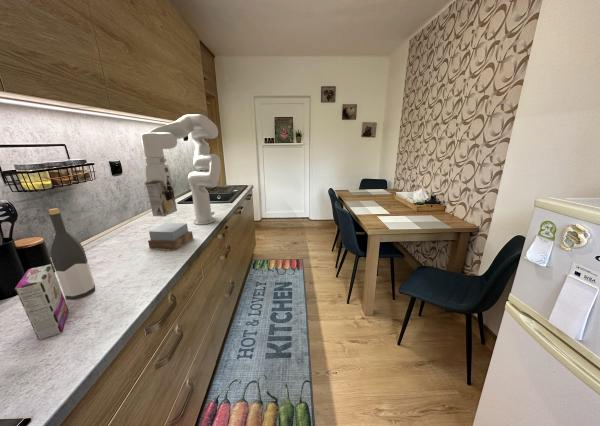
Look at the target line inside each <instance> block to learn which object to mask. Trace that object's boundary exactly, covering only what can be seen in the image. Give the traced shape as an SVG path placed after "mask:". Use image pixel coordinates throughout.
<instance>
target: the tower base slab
mask: <svg viewBox="0 0 600 426" xmlns="http://www.w3.org/2000/svg"><path fill="white" fill-rule="evenodd" d="M193 239H194V235H193V231H192V230H191V231H189V230H188V232H187V233H185V234H184V235H182V236H181V237H179V238H178V239H176V240H175V241H162V240H151V239H149V240H147V242H148V247H149V249H154V250H155V249H156V250H169V251H170V250H171V251H176V250H178V249H180V248H181V247H183V246H184V245H186V244H187V243H189V242H190V241H192V240H193Z"/></svg>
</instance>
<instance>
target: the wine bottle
mask: <svg viewBox="0 0 600 426" xmlns="http://www.w3.org/2000/svg"><path fill="white" fill-rule="evenodd" d="M48 212H49V215H48V216H49V217H50V220H51V223H52V226H53V229H54V232H55V236H54V239H53V241H52V243H51V250H50V259H51V261H52V265H53V268H54V270H55V272H56V273H55V274H56V275H57V276H56V277H57V279H58V282H59V285H60V286H61V287H60V288H61V290H62V293H63V294H64V295H63V296H64V299H66V300H69V301H76V300H79V299H80V300H81V299H83V298H86V297H88V296H89V295H91V294H93V293H94V292H96V284H95V283H96V282H95V280H94V277H93V274H92V271H91V268H90V265H89V261H88V258H87V255H86V250H85V248H84V246H83V245H82V244H81V242H80V241H79V240H78V239H77V238H76V236H73V235H72V234H71V233H70V232H68V230H67V228H66V226H65V223H64V219H63V217H62V212H60V211H59V208H58V207H57V208H51V209H50V208H49V209H48Z"/></svg>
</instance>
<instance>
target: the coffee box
mask: <svg viewBox="0 0 600 426" xmlns="http://www.w3.org/2000/svg"><path fill="white" fill-rule="evenodd" d="M167 182H168V181H167ZM168 183H169V182H168ZM146 185H147V186H146ZM146 185H145V186H146V189H147V194H148V199H149V204H150V207H151V213H152V216H153V217H163V218H164V217H166V216H169V215H171V214H174V213H175V212H178V208H177V203H176V198H175V192H174V188H173V189H172V191H171V194H172V199H171V200H168V201H167V200H166V195H165V192H166V191H165V189H164V186H163V185H162V182H146ZM167 185H168V184H167ZM169 185H170V184H169ZM167 188H168V186H167Z"/></svg>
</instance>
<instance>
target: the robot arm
mask: <svg viewBox="0 0 600 426" xmlns="http://www.w3.org/2000/svg"><path fill="white" fill-rule="evenodd" d="M188 135H190V138H191V139H192V142H193V143H194V155H193V162H192V165H193V168H194V169H195V170H194V171H191V172H189V174H188V176H187V182H188V184H189V187H190V191H191V197H192V203H193V210H194V216H195V219H194V220H193V224H194V225H208V224H211V223H214V222H215V220H216V219H215V217H213V216H214V215H215V214H216V212H215V211H212V209H211V200H210V194H209V191H208V190H207V188H216V187H218V184H219V182H220V181H219V180H220V174H221V159H220V156H219V155H217V154H214V153H210V152H211V147H210V145H209V144H208V142H207V141H206V140H205V139H210V140H211V139H212V140H213V139H216V138H217V137H218V136H219V130H218V127H217V125H216V124H215V123H214V122H213V121H212V120H211V119H210V118H208V117H207V116H206V115H203V114H201V113H199V114H198V113H197V114H196V113H195V114H184V115H182V116H181V117H179V118H178V119H177V120H175V121H173V122H170V123H167V124H164V125H160V126H158V127H155V128H153V129H151V130H149V131H148V132H143V133H141V135H140V139H141V144H142V150H143V155H144V159H145V177H146V180H145V182H144V185H145V187H147V185H146V182H162V185H163V186H164V189H165V191H166V192H165V195H166V200H167V201H168V200H171V199H172V194H171V191H172V189H173V190H174V187H175V186H176V182H175V181H173V179H172V178H173V177H172V174H171V170H170V168H169V166H168V163H166V162H167V159H166V158H165V154H164V153H165V152H164V150H172V149H174V148H176V147H177V145H178V140H180V139H184V138H186V137H187V136H188ZM167 181H168V182H169V183H168V182H167ZM167 184H168V185H167ZM169 184H170V185H169ZM167 186H168V188H167Z"/></svg>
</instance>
